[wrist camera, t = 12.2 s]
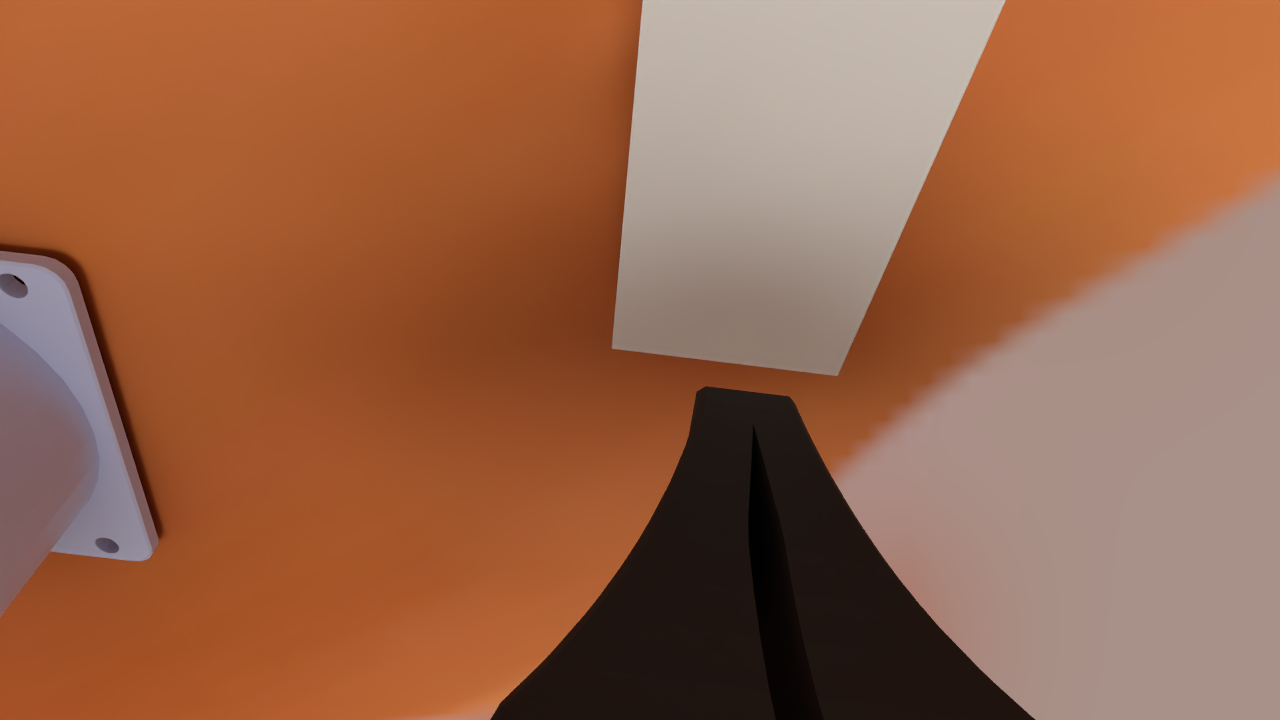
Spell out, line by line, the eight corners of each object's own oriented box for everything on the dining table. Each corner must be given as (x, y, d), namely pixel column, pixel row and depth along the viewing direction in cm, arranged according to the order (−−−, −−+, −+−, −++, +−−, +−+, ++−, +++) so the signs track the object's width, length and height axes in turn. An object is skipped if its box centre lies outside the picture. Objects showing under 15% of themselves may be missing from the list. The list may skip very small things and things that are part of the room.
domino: (611, 348, 16) (651, -99, 10) (619, 296, 17) (660, -153, 10) (837, 375, 16) (1027, -51, 10) (835, 322, 17) (1011, -109, 10)
